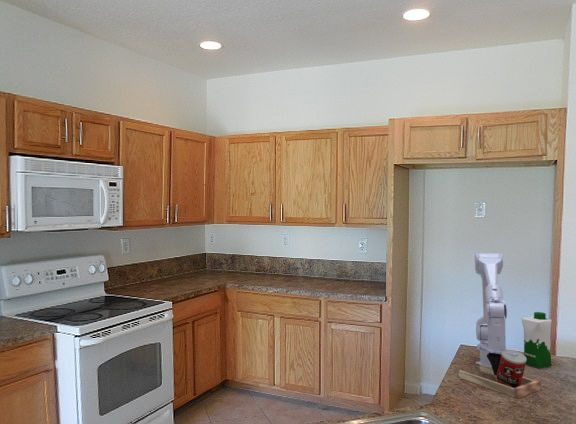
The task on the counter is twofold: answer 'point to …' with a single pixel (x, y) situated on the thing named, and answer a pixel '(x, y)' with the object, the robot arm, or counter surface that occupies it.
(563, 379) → the counter surface
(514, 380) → the canned food
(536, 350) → the milk carton
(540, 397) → the counter surface
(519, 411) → the counter surface
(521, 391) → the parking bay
